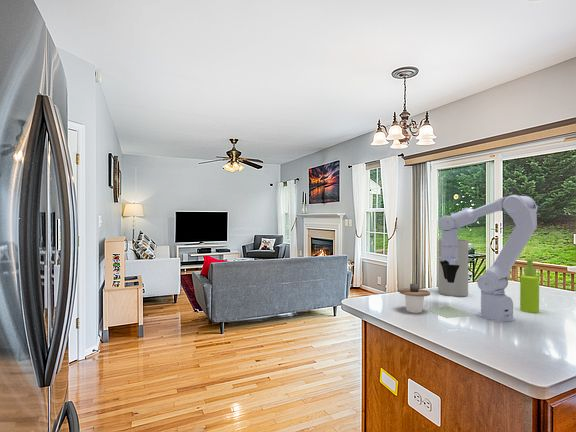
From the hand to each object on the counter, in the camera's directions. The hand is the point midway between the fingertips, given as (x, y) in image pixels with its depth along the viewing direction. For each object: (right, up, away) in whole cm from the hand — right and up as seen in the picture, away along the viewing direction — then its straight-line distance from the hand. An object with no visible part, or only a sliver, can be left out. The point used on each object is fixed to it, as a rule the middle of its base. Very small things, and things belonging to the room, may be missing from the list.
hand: (449, 280), depth 134 cm
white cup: (-16, -11, -6) cm, 20 cm away
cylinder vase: (+13, -11, +23) cm, 28 cm away
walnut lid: (-16, -3, -6) cm, 18 cm away
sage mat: (-4, -10, -8) cm, 14 cm away
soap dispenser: (+29, -11, -4) cm, 31 cm away
